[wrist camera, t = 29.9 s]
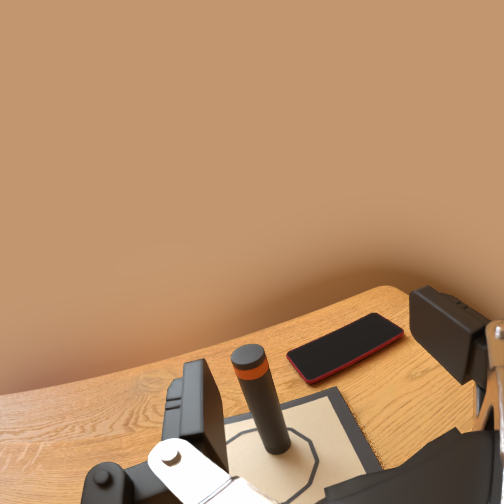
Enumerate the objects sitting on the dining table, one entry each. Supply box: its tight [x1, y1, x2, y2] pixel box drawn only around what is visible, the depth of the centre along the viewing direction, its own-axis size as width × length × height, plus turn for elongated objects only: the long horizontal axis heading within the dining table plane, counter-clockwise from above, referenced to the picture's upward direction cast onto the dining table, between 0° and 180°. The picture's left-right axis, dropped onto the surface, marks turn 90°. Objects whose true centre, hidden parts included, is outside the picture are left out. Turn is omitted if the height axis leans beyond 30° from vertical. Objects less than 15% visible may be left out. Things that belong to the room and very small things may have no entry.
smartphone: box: [286, 313, 404, 384], centre depth 39 cm, size 7×1×15 cm
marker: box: [231, 344, 291, 455], centre depth 25 cm, size 3×3×12 cm
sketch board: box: [224, 386, 383, 504], centre depth 25 cm, size 20×16×1 cm
